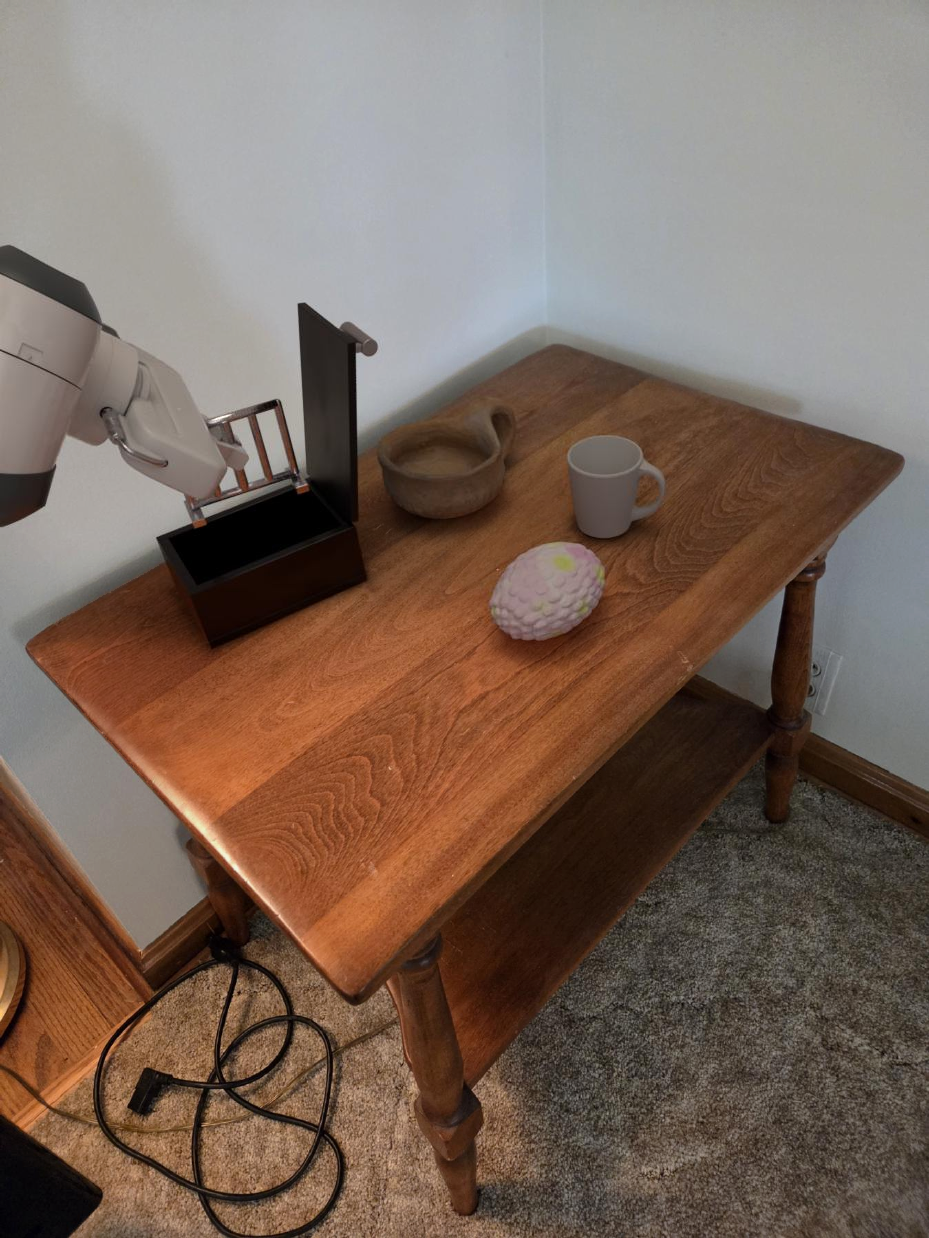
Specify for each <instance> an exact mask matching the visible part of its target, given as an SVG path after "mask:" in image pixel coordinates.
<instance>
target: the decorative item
mask: <svg viewBox="0 0 929 1238" xmlns="http://www.w3.org/2000/svg"><path fill="white" fill-rule="evenodd" d="M605 579H606V569H605V567H604V565H603V564H602V562H601V560H600V559H599V557H597V556H596V554H595V552H594V551H592V550H591V549H589V548H588V549H587V547H586V546H585V545H584V544H583V545H582V544H581V543H579V542H578V543H573V542H571V541H570V542H566V541H555V542H548V543H543V544H540V545H538V546H535V547H532V548H530V549H528V550H527V551H526V552H524V553H521V554H519V555H517V557H516V558H515V560H514V561H512V562H511V563H509V564H508V565H507V566H506V567H505V570H504V572H503V573H502V574H501V576H500V577H499V579H498V582H497V583H496V585H495V587H494V588H493V592H492V595H491V597H490V599H489V601H488V608H490V610H489V612H490V616H491V618H492V624H495V625H498V628H499V630H500V631H503V632H504V633H505V634H507V635H510V637H511V638H512V639H513V640H520V639H521V640H523V641H534V640H535V641H538V642H540V641H546V640H549V639H552V638H556V637H559V636H560V635H563V634H566V633H568V632H570V631H571V630H573V628H575V627H577V626H579V624H580V623H582V622H583V620H584V619H586V618H588V617H589V616H590V615H591V614H592V611H593V610H594V609H595V608H596V607H597V606H598V604H599V602H600V598H601V597H602V595H603V592H604V590H605V588H606V580H605Z"/></svg>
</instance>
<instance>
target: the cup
mask: <svg viewBox="0 0 929 1238" xmlns="http://www.w3.org/2000/svg"><path fill="white" fill-rule="evenodd" d="M566 463H567V470H568V479H569V486H570V492H571V497H572V503H573V509H574V513H575V521H576V525H577V527H578V529H579V530H580V531H581V532H582V533H583V534H585V535H587V536H590V537H593V538H597V539H611V538H614V537H618V536H620V535H622V534H624V533H626V532H627V531H628V530H629V528H630V527H631V524H632V522H634V521H637V520H638V521H639V520H641V519H644V518H647V517H650V516H651V515H652V514H654V513H655V512H656V511H657V510H658V509H659V508H660V506H661V505H662V503H663V501H664V497H665V496H666V495H665V494H666V488H667V485H666V479H665V476H664V474H663V472H662V471H661V470H660V469H658V467H656V466H654V465H653V464H651V463H649V462H648V461H647V460H646V459H645V458H644V453H643V450H642V448H641V447H640V446H639V445H638V443H636V442H634V441H633V440H631V439H629V438H626V437H623V436H618V435H607V434H603V435H594V436H589V437H585V438H583V439H581V440H578V441H577V442H576V443H574V444H573V445H572V446H571V447H570V448H569V450H568V451H567V454H566ZM642 476H650V477H652V478H654V479H655V480H656V481H657V484H658V486H659V496H658V498H657V499H656V501H654V502H652V503H651V504H649V505H646V506H638V505H636V502H637V501H636V500H637V496H638V491H639V485H640V479H641V477H642Z"/></svg>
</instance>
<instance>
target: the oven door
mask: <svg viewBox="0 0 929 1238" xmlns="http://www.w3.org/2000/svg"><path fill="white" fill-rule="evenodd" d="M296 306H297V320H298V321H297V322H298V341H299V342H298V343H299V358H300V360H299V361H300V376H301V379H300V380H301V396H302V413H303V415H302V416H303V432H304V433H303V434H304V447H305V448H304V451H305V468H306V475H307V476H308V477H310V478H311V479H312V480H313V481H314V482H315V483H316V484H317V485H318V486H319V487H320V489H321V490H322V491H323V492H324V493H325V494H326V495H327V496H328V497H329V498H330V500H331V501H332V502H333V503H334V504H335V505H336V506H337V507H338V508H339V509H340V511H341V512H342V513H343V514H344V515H345V516H346V517H347V518H348V519H349V520H350V522H351V523H356V522H359V520H360V518H359V517H360V516H359V463H358V462H359V457H358V453H359V451H358V396H357V395H358V394H357V393H358V391H357V354H360V353H361V354H362V355H364V356H365V357H369V358H370V357H373V356H374V355H376V353H377V352H378V350H379V344H378V342H377V340H375V339H374V338H372V337H371V336H370V335H369V334H368V333H366V332H364V331H363V329H360V328H359V327H358V326H356V324H354V323H353V322H351V321H344V322H343V323H341V324H340V325H339V328H338V327H337V326H336V325H334V324H333V323H332V322H331V321H330V320H328V319H327V318H325V317H324V316H323V315H322V314H321V313H319V312H318V311H317V310H315V309H314V308H313V307H312V306H310V305H309V304H308V303H306V302H297V305H296Z"/></svg>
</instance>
